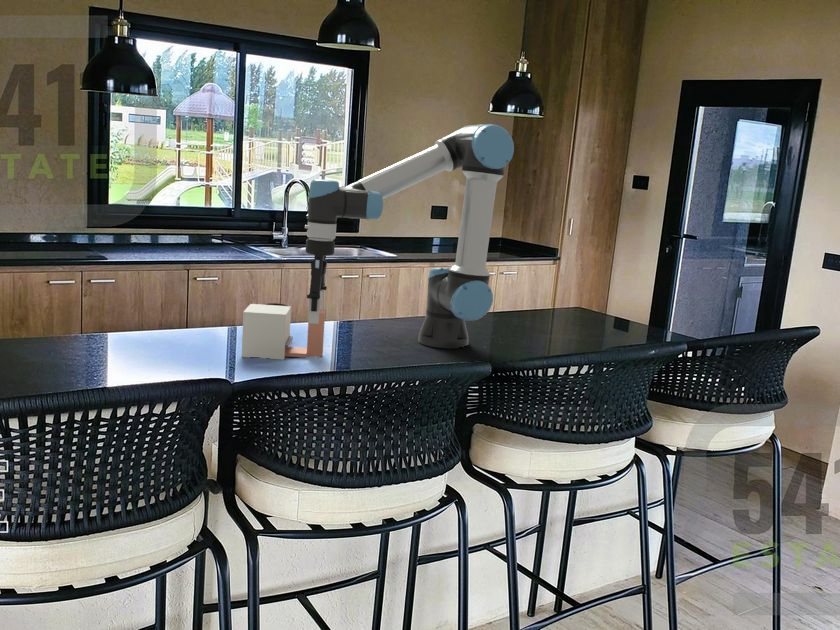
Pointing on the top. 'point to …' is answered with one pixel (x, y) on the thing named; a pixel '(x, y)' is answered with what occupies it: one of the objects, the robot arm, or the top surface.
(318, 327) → the orange l-shaped bracket
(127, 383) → the top surface
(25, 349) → the top surface
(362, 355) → the top surface
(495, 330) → the top surface
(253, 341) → the off-white block
